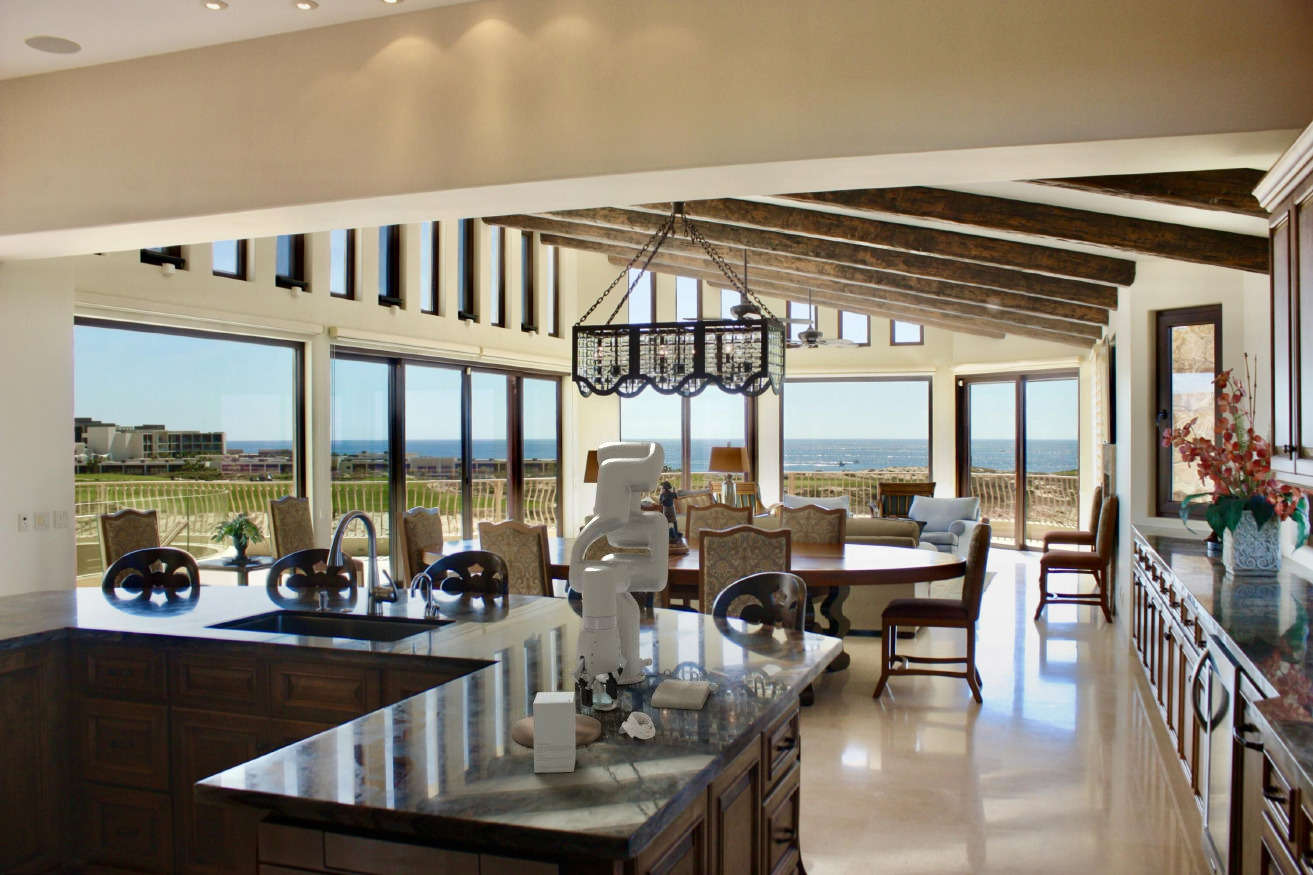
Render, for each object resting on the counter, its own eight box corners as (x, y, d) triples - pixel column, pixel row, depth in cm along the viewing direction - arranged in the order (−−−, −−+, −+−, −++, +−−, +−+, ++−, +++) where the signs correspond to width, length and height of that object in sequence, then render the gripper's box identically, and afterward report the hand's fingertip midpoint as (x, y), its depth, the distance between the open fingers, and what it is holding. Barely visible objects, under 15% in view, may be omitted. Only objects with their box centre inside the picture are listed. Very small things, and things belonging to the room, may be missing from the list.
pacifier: (618, 703, 200) (592, 701, 200) (619, 675, 200) (593, 674, 200) (614, 713, 192) (587, 712, 193) (615, 685, 192) (588, 683, 193)
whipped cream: (639, 731, 184) (638, 707, 185) (664, 735, 180) (663, 710, 180) (613, 738, 178) (613, 713, 178) (639, 742, 174) (638, 716, 174)
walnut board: (562, 714, 192) (562, 707, 192) (619, 733, 180) (619, 725, 180) (494, 733, 179) (494, 726, 179) (550, 754, 167) (550, 746, 167)
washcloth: (711, 690, 213) (711, 678, 213) (703, 712, 195) (703, 698, 196) (663, 688, 215) (663, 675, 215) (650, 709, 197) (650, 695, 198)
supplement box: (576, 758, 165) (576, 690, 165) (574, 772, 157) (574, 702, 158) (536, 758, 165) (537, 691, 165) (532, 773, 157) (532, 702, 157)
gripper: (616, 613, 205) (616, 690, 205) (558, 625, 193) (558, 707, 193) (638, 618, 200) (639, 697, 200) (581, 631, 187) (581, 714, 187)
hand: (599, 701), depth 196 cm, fingers closed on pacifier, 6 cm apart
